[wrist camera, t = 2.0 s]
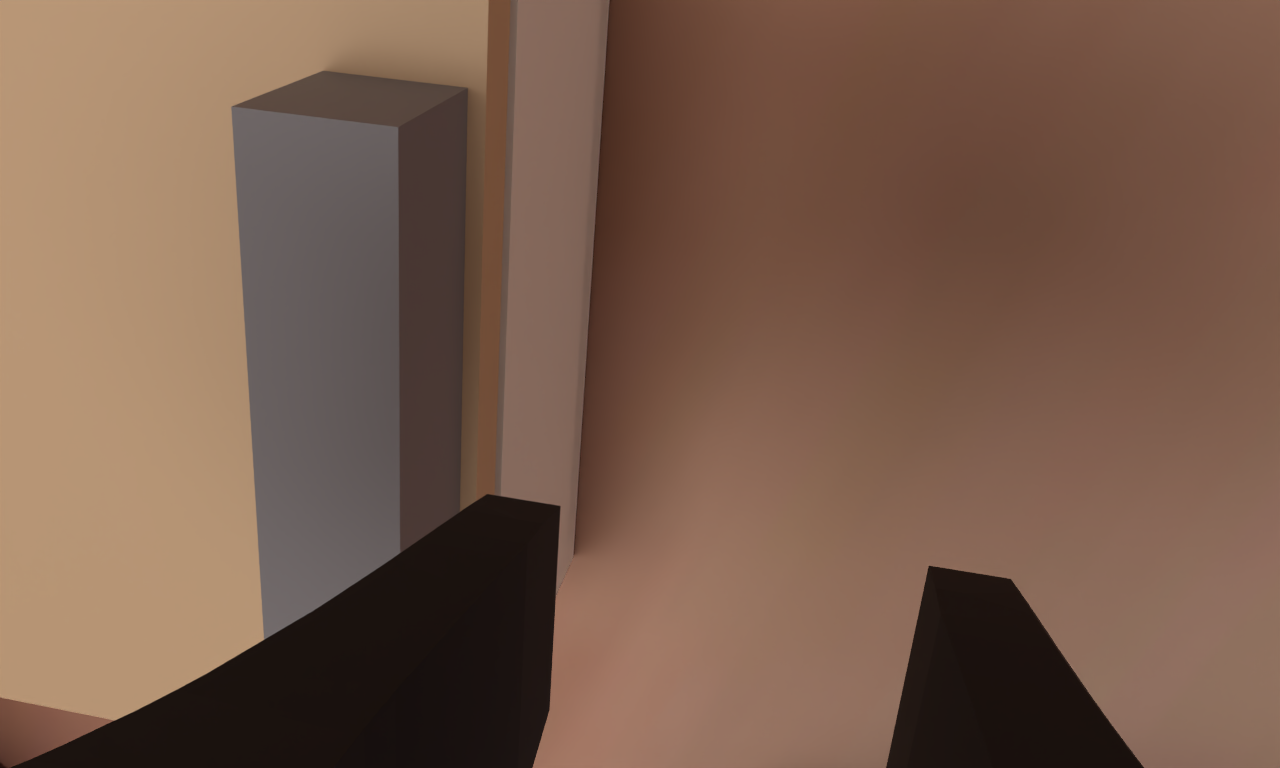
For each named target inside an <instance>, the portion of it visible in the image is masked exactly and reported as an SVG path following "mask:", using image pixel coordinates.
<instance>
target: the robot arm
mask: <svg viewBox="0 0 1280 768" xmlns="http://www.w3.org/2000/svg"><path fill="white" fill-rule="evenodd" d="M560 508H561V506H558V505H552V504H546V503H540V502H534V501H527V500H521V499H515V498H509V497H503V496H497V495H491V494H486V495H485V496H483V497H482V498H480V499H478V500H477V501H475V502H474V503H472V504H471V505H469V506H468V507H466V508H465V509H463V510H462V511H460V512H459V513H457V514H456V515H455V516H453V517H452V518H450V519H449V520H447V521H446V522H444V523H443V524H441V525H440V526H439V527H437V528H436V529H434V530H433V531H431V532H430V533H428V534H427V535H426V536H424V537H423V538H421V539H420V540H418V541H417V542H415V543H414V544H412V545H411V546H410V547H408V548H407V549H405V550H404V551H402V552H401V553H399V554H398V555H396V556H395V557H394V558H392V559H391V560H389V561H388V562H386V563H385V564H383V565H382V566H380V567H379V568H377V569H376V570H374V571H373V572H371V573H370V574H368V575H367V576H365V577H364V578H362V579H361V580H359V581H358V582H356V583H355V584H353V585H352V586H350V587H349V588H347V589H346V590H344V591H343V592H341V593H340V594H338V595H337V596H335V597H334V598H332V599H331V600H329V601H327V602H326V603H324V604H323V605H321V606H320V607H318V608H317V609H315V610H314V611H312V612H310V613H308V614H307V615H305V616H303V617H302V618H300V619H298V620H297V621H295V622H293V623H292V624H290V625H288V626H286V627H285V628H283V629H281V630H280V631H278V632H276V633H275V634H273V635H271V636H269V637H268V638H266V639H264V640H263V641H261V642H259V643H258V644H256V645H254V646H252V647H251V648H249V649H247V650H246V651H244V652H242V653H241V654H239V655H237V656H236V657H234V658H232V659H230V660H229V661H227V662H225V663H224V664H222V665H220V666H219V667H217V668H215V669H213V670H212V671H210V672H208V673H207V674H205V675H203V676H201V677H199V678H197V679H196V680H194V681H192V682H190V683H188V684H186V685H184V686H183V687H181V688H179V689H177V690H175V691H173V692H171V693H169V694H167V695H165V696H163V697H161V698H160V699H158V700H156V701H154V702H152V703H150V704H148V705H146V706H144V707H142V708H140V709H138V710H136V711H134V712H132V713H130V714H128V715H125V716H123V717H121V718H119V719H117V720H115V721H113V722H111V723H109V724H107V725H104V726H102V727H100V728H98V729H96V730H94V731H92V732H90V733H88V734H85V735H83V736H81V737H79V738H77V739H75V740H73V741H71V742H69V743H67V744H64V745H62V746H60V747H58V748H56V749H53V750H51V751H49V752H47V753H44V754H42V755H40V756H38V757H35V758H33V759H31V760H28V761H26V762H23V763H21V764H18V765H16V766H13V767H11V768H532V767H533V764H534V760H535V757H536V754H537V750H538V747H539V743H540V740H541V737H542V733H543V730H544V726H545V723H546V720H547V716H548V713H549V707H550V689H551V671H552V653H553V635H554V616H555V598H556V580H557V562H558V544H559V526H560ZM886 768H1144V767H1143V766H1142V765H1141V763H1140V762H1139V761H1138V759H1137V758H1136V757H1135V755H1134V754H1133V753H1132V751H1131V750H1130V749H1129V747H1128V746H1127V745H1126V743H1125V742H1124V741H1123V739H1122V738H1121V737H1120V735H1119V734H1118V733H1117V731H1116V730H1115V729H1114V727H1113V726H1112V725H1111V723H1110V722H1109V721H1108V719H1107V718H1106V716H1105V715H1104V714H1103V712H1102V711H1101V709H1100V708H1099V707H1098V705H1097V704H1096V702H1095V701H1094V700H1093V698H1092V697H1091V695H1090V694H1089V692H1088V691H1087V690H1086V688H1085V687H1084V685H1083V684H1082V682H1081V681H1080V679H1079V678H1078V677H1077V675H1076V674H1075V672H1074V671H1073V669H1072V668H1071V666H1070V665H1069V664H1068V662H1067V661H1066V659H1065V658H1064V656H1063V655H1062V653H1061V652H1060V650H1059V649H1058V647H1057V646H1056V644H1055V643H1054V641H1053V640H1052V638H1051V637H1050V635H1049V634H1048V632H1047V631H1046V629H1045V628H1044V626H1043V625H1042V623H1041V622H1040V620H1039V619H1038V617H1037V616H1036V615H1035V613H1034V612H1033V610H1032V609H1031V607H1030V606H1029V604H1028V603H1027V601H1026V600H1025V598H1024V597H1023V596H1022V594H1021V593H1020V591H1019V590H1018V589H1017V587H1016V586H1015V584H1014V583H1013V582H1012V580H1011V579H1007V578H1001V577H995V576H989V575H983V574H976V573H970V572H964V571H958V570H952V569H946V568H939V567H933V566H929V568H928V572H927V577H926V582H925V587H924V591H923V596H922V601H921V606H920V610H919V615H918V620H917V625H916V629H915V634H914V639H913V644H912V648H911V653H910V658H909V663H908V667H907V672H906V677H905V682H904V686H903V691H902V696H901V701H900V705H899V710H898V715H897V720H896V724H895V729H894V734H893V739H892V743H891V748H890V753H889V758H888V762H887V767H886Z"/></svg>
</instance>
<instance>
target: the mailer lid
mask: <svg viewBox="0 0 1280 768" xmlns="http://www.w3.org/2000/svg"><path fill="white" fill-rule="evenodd" d="M510 3H511V0H0V698H5V699H10V700H15V701H20V702H25V703H30V704H35V705H40V706H45V707H50V708H55V709H60V710H65V711H70V712H75V713H80V714H85V715H90V716H95V717H100V718H105V719H110V720H117V719H119V718H121V717H123V716H125V715H128V714H130V713H132V712H134V711H136V710H138V709H140V708H142V707H144V706H146V705H148V704H150V703H152V702H154V701H156V700H158V699H160V698H161V697H163V696H165V695H167V694H169V693H171V692H173V691H175V690H177V689H179V688H181V687H183V686H184V685H186V684H188V683H190V682H192V681H194V680H196V679H197V678H199V677H201V676H203V675H205V674H207V673H208V672H210V671H212V670H213V669H215V668H217V667H219V666H220V665H222V664H224V663H225V662H227V661H229V660H230V659H232V658H234V657H236V656H237V655H239V654H241V653H242V652H244V651H246V650H247V649H249V648H251V647H252V646H254V645H256V644H258V643H259V642H261V641H263V640H264V639H266V638H268V637H269V636H271V635H273V634H275V633H276V632H278V631H280V630H281V629H283V628H285V627H286V626H288V625H290V624H292V623H293V622H295V621H297V620H298V619H300V618H302V617H303V616H305V615H307V614H308V613H310V612H312V611H314V610H315V609H317V608H318V607H320V606H321V605H323V604H324V603H326V602H327V601H329V600H331V599H332V598H334V597H335V596H337V595H338V594H340V593H341V592H343V591H344V590H346V589H347V588H349V587H350V586H352V585H353V584H355V583H356V582H358V581H359V580H361V579H362V578H364V577H365V576H367V575H368V574H370V573H371V572H373V571H374V570H376V569H377V568H379V567H380V566H382V565H383V564H385V563H386V562H388V561H389V560H391V559H392V558H394V557H395V556H396V555H398V554H399V553H401V552H402V551H404V550H405V549H407V548H408V547H410V546H411V545H412V544H414V543H415V542H417V541H418V540H420V539H421V538H423V537H424V536H426V535H427V534H428V533H430V532H431V531H433V530H434V529H436V528H437V527H439V526H440V525H441V524H443V523H444V522H446V521H447V520H449V519H450V518H452V517H453V516H455V515H456V514H457V513H459V512H460V511H462V510H463V509H465V508H466V507H468V506H469V505H471V504H472V503H474V502H475V501H477V500H478V499H480V498H482V497H483V496H485V495H486V494H491V495H495V466H496V435H497V404H498V373H499V342H500V312H501V281H502V250H503V219H504V188H505V157H506V126H507V95H508V64H509V34H510Z"/></svg>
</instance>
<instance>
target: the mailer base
mask: <svg viewBox="0 0 1280 768" xmlns="http://www.w3.org/2000/svg"><path fill="white" fill-rule="evenodd" d="M608 16H609V0H511V3H510V34H509V64H508V95H507V126H506V157H505V188H504V219H503V250H502V281H501V312H500V342H499V373H498V404H497V435H496V466H495V495H497V496H503V497H509V498H515V499H521V500H527V501H534V502H540V503H546V504H552V505H558V506H561V508H560V526H559V544H558V562H557V580H556V595H557V593H558V590H559V588H560V586H561V584H562V581H563V579H564V577H565V575H566V573H567V570H568V568H569V566H570V564H571V561H572V559H573V555H574V540H575V525H576V509H577V494H578V478H579V463H580V447H581V432H582V417H583V401H584V386H585V370H586V355H587V339H588V324H589V309H590V293H591V278H592V262H593V247H594V232H595V216H596V201H597V185H598V170H599V154H600V139H601V124H602V108H603V93H604V77H605V62H606V46H607V31H608Z"/></svg>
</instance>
